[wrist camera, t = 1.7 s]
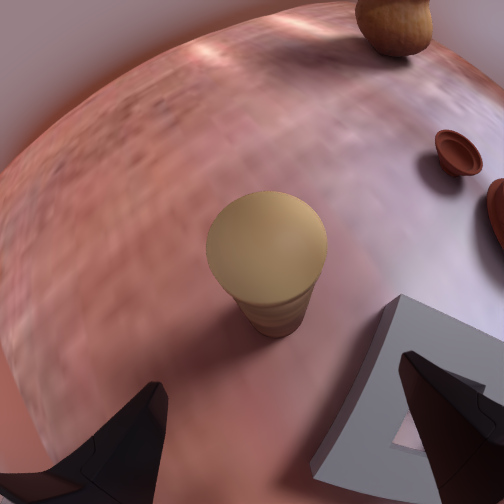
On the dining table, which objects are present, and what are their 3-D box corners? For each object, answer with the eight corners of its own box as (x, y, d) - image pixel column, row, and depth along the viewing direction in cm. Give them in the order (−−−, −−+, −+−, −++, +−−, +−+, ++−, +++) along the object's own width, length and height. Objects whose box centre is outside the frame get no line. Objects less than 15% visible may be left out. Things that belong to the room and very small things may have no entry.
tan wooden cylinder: (289, 348, 21) (295, 324, 10) (237, 322, 22) (184, 269, 11) (315, 296, 22) (344, 216, 11) (263, 272, 24) (241, 177, 12)
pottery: (527, 302, 19) (552, 289, 15) (406, 174, 26) (419, 146, 22) (547, 235, 21) (566, 219, 17) (445, 131, 28) (457, 107, 24)
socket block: (441, 495, 13) (459, 507, 10) (309, 463, 17) (313, 478, 14) (500, 356, 17) (523, 351, 14) (385, 304, 21) (401, 293, 18)
